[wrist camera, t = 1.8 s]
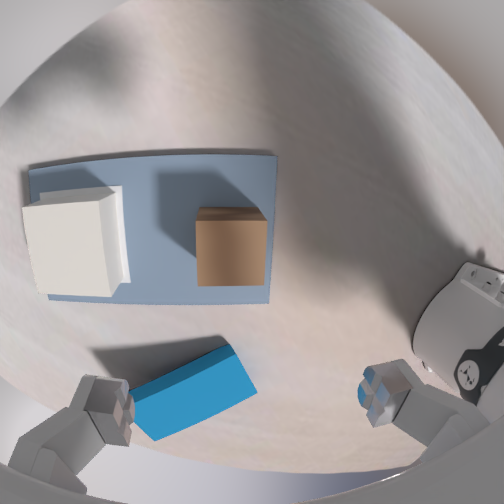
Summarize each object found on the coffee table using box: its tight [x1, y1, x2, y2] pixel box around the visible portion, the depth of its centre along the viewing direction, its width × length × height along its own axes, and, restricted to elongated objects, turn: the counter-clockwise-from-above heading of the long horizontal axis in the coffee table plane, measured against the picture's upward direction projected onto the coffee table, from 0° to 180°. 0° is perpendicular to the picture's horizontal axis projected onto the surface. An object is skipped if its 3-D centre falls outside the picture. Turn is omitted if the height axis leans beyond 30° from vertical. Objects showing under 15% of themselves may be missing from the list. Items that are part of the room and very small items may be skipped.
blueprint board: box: [29, 154, 277, 305], centre depth 25 cm, size 24×14×1 cm, turn 88°
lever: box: [128, 344, 257, 441], centre depth 31 cm, size 7×7×18 cm
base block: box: [22, 193, 124, 297], centre depth 22 cm, size 8×8×4 cm
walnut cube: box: [196, 207, 267, 286], centre depth 23 cm, size 5×5×5 cm
